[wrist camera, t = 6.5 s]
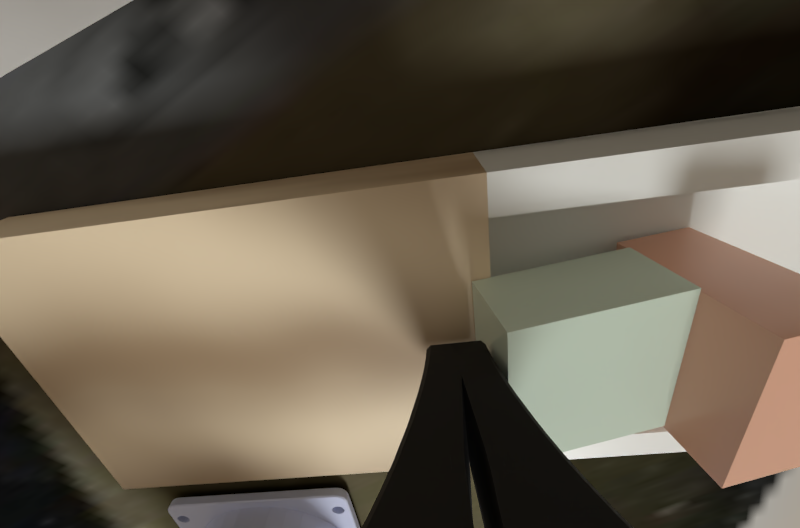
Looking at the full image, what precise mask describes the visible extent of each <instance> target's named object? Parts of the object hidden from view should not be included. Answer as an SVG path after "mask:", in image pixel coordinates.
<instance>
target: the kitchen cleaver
mask: <svg viewBox="0 0 800 528" xmlns="http://www.w3.org/2000/svg"><path fill="white" fill-rule="evenodd" d="M131 1H133V0H0V77H2V76H4V75H5V74H7V73H9V72H10V71H12V70H14V69H16V68H17V67H19V66H21V65H22V64H24V63H26V62H28V61H29V60H31V59H33V58H35V57H36V56H38V55H40V54H41V53H43V52H45V51H47V50H48V49H50V48H52V47H53V46H55V45H57V44H59V43H60V42H62V41H64V40H65V39H67V38H69V37H71V36H72V35H74V34H76V33H78V32H79V31H81V30H83V29H84V28H86V27H88V26H90V25H91V24H93V23H95V22H96V21H98V20H100V19H102V18H103V17H105V16H107V15H109V14H110V13H112V12H114V11H115V10H117V9H119V8H121V7H122V6H124V5H126V4H127V3H129V2H131Z"/></svg>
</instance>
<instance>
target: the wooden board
mask: <svg viewBox="0 0 800 528" xmlns="http://www.w3.org/2000/svg"><path fill="white" fill-rule="evenodd" d="M490 277H491V275H490V248H489V221H488V194H487V172H486V171H485V169H484V168H483V167H482V165H481V164H480V162H479V161H478V159H477V158H476V156H475V155H474V153H473V152H469V153H462V154H455V155H448V156H441V157H434V158H427V159H420V160H412V161H405V162H398V163H391V164H384V165H377V166H370V167H363V168H355V169H348V170H341V171H334V172H327V173H320V174H313V175H306V176H298V177H291V178H284V179H277V180H270V181H263V182H256V183H249V184H241V185H234V186H227V187H220V188H213V189H206V190H199V191H192V192H184V193H177V194H170V195H163V196H156V197H149V198H142V199H135V200H127V201H120V202H113V203H106V204H99V205H92V206H85V207H78V208H70V209H63V210H56V211H49V212H42V213H35V214H28V215H21V216H13V217H8V218H5V219H2V220H0V337H1V338H2V339H3V341H4V342H5V343H6V344H7V346H8V347H9V348H10V349H11V350H12V352H13V353H14V354H15V355H16V357H17V358H18V359H19V360H20V362H21V363H22V364H23V365H24V367H25V368H26V369H27V370H28V372H29V373H30V374H31V375H32V376H33V378H34V379H35V380H36V381H37V383H38V384H39V385H40V386H41V388H42V389H43V390H44V391H45V393H46V394H47V395H48V396H49V398H50V399H51V400H52V401H53V403H54V404H55V405H56V406H57V407H58V409H59V410H60V411H61V412H62V414H63V415H64V416H65V417H66V419H67V420H68V421H69V422H70V424H71V425H72V426H73V427H74V429H75V430H76V431H77V432H78V433H79V435H80V436H81V437H82V438H83V440H84V441H85V442H86V443H87V445H88V446H89V447H90V448H91V450H92V451H93V452H94V453H95V455H96V456H97V457H98V458H99V459H100V461H101V462H102V463H103V464H104V466H105V467H106V468H107V469H108V471H109V472H110V473H111V474H112V476H113V477H114V478H115V479H116V481H117V482H118V483H119V484H120V485H121V487H122V488H123V489H136V488H151V487H166V486H180V485H195V484H210V483H225V482H240V481H255V480H270V479H285V478H300V477H314V476H329V475H344V474H359V473H374V472H389V470H390V468H391V465H392V463H393V461H394V458H395V456H396V453H397V450H398V448H399V445H400V443H401V440H402V438H403V435H404V433H405V430H406V428H407V425H408V422H409V419H410V416H411V413H412V410H413V407H414V403H415V400H416V397H417V394H418V391H419V387H420V383H421V379H422V375H423V371H424V366H425V360H426V349H427V348H428V347H429V346H430V345H438V344H449V343H459V342H469V341H476V337H475V322H474V306H473V291H472V281H476V280H481V279H486V278H490Z"/></svg>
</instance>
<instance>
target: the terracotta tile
mask: <svg viewBox="0 0 800 528" xmlns="http://www.w3.org/2000/svg"><path fill="white" fill-rule="evenodd" d="M629 247H630V248H632V249H634V250H635V251H637V252H639V253H641V254H642V255H644V256H646V257H648V258H649V259H651V260H653V261H655V262H656V263H658V264H660V265H662V266H664V267H665V268H667V269H669V270H671V271H672V272H674V273H676V274H678V275H679V276H681V277H683V278H685V279H686V280H688V281H690V282H692V283H693V284H695V285H697V286H699V287H700V288H701V292H700V295H699V299H698V303H697V307H696V310H695V314H694V318H693V322H692V325H691V329H690V333H689V336H688V340H687V344H686V348H685V351H684V355H683V359H682V363H681V366H680V370H679V374H678V377H677V381H676V385H675V389H674V392H673V396H672V400H671V404H670V407H669V411H668V415H667V418H666V422H665V426H663V427H664V428H665V429H666V430H667V431H668V432H669V433H670V434H671V435H672V436H673V438H674V439H675V440H676V441H677V442H678V443H679V444H680V445H681V446H682V447H683V448H684V449H685V450H686V451H687V452H688V453H689V454H690V455H691V456H692V457H693V459H694V460H695V461H696V462H697V463H698V464H699V465H700V466H701V467H702V468H703V469H704V470H705V471H706V472H707V473H708V474H709V475H710V476H711V477H712V478H713V480H714V481H715V482H716V483H717V484H718V485H719V486H720V487H721V488H725V487H729V486H732V485H736V484H740V483H743V482H747V481H750V480H754V479H758V478H761V477H765V476H768V475H772V474H775V473H779V472H783V471H786V470H790V469H793V468H797V467H800V274H799V273H797V272H794V271H792V270H789V269H787V268H785V267H782V266H780V265H778V264H775V263H773V262H770V261H768V260H766V259H763V258H761V257H759V256H756V255H754V254H751V253H749V252H747V251H744V250H742V249H740V248H737V247H735V246H732V245H730V244H728V243H725V242H723V241H721V240H718V239H716V238H713V237H711V236H709V235H706V234H704V233H702V232H699V231H697V230H694V229H692V228H690V227H687V228H682V229H678V230H673V231H668V232H664V233H659V234H654V235H650V236H645V237H641V238H636V239H631V240H627V241H622V242H617V247H616V250H620V249H624V248H629Z"/></svg>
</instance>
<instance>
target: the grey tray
mask: <svg viewBox="0 0 800 528" xmlns="http://www.w3.org/2000/svg"><path fill="white" fill-rule="evenodd" d="M473 153H474V155H475V156H476V158H477V159H478V161H479V162H480V164H481V165H482V167H483V168H484V169H485V171H486V172H487V194H488V221H489V248H490V275H491V277H495V276H500V275H504V274H509V273H513V272H518V271H523V270H527V269H532V268H536V267H541V266H546V265H550V264H555V263H560V262H564V261H569V260H573V259H578V258H583V257H587V256H592V255H596V254H601V253H606V252H610V251H615V250H616V247H617V242H622V241H627V240H631V239H636V238H641V237H645V236H650V235H654V234H659V233H664V232H668V231H673V230H678V229H682V228H687V227H690V228H692V229H694V230H697V231H699V232H702V233H704V234H706V235H709V236H711V237H713V238H716V239H718V240H721V241H723V242H725V243H728V244H730V245H732V246H735V247H737V248H740V249H742V250H744V251H747V252H749V253H751V254H754V255H756V256H759V257H761V258H763V259H766V260H768V261H770V262H773V263H775V264H778V265H780V266H782V267H785V268H787V269H789V270H792V271H794V272H797V273H799V274H800V106H797V107H790V108H783V109H776V110H769V111H762V112H754V113H747V114H740V115H733V116H726V117H719V118H712V119H705V120H697V121H690V122H683V123H676V124H669V125H662V126H655V127H648V128H640V129H633V130H626V131H619V132H612V133H605V134H598V135H591V136H583V137H576V138H569V139H562V140H555V141H548V142H541V143H534V144H526V145H519V146H512V147H505V148H498V149H491V150H484V151H477V152H473ZM672 452H687V451H686V450H685V449H684V448H683V447H682V446H681V445H680V444H679V443H678V442H677V441H676V440H675V439H674V438H673V436H672V435H671V434H670V433H669V432H668V431H667V430H666V429H665V428H664V427H663V426H662V427H658V428H654V429H650V430H646V431H643V432H639V433H635V434H631V435H627V436H623V437H620V438H616V439H612V440H608V441H604V442H600V443H596V444H593V445H589V446H585V447H581V448H577V449H573V450H570V451H566V452H563V454H564V455H565V456H566V457H567V458H568V459H583V458H597V457H612V456H627V455H642V454H657V453H672Z"/></svg>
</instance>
